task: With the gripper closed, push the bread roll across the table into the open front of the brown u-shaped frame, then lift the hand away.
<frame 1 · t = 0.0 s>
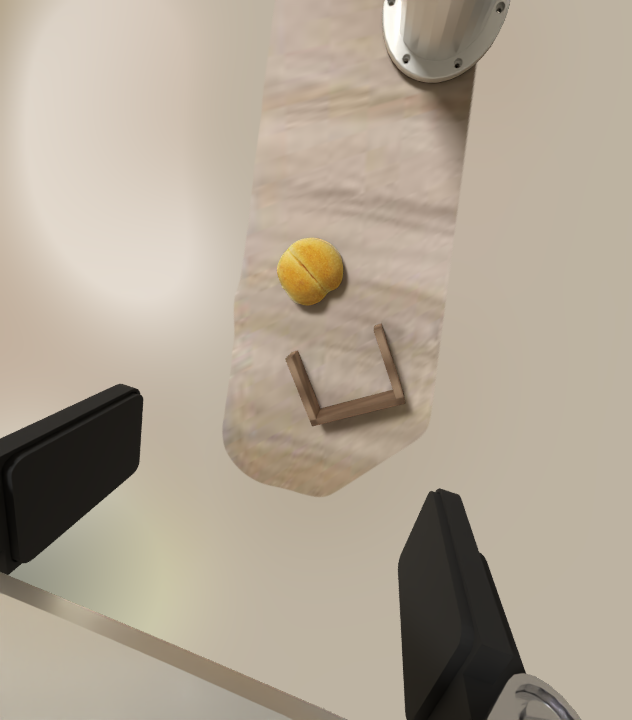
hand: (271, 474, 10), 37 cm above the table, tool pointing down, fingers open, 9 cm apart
brown u-shaped frame: (346, 372, 48), on the table
bread roll: (311, 272, 45), on the table
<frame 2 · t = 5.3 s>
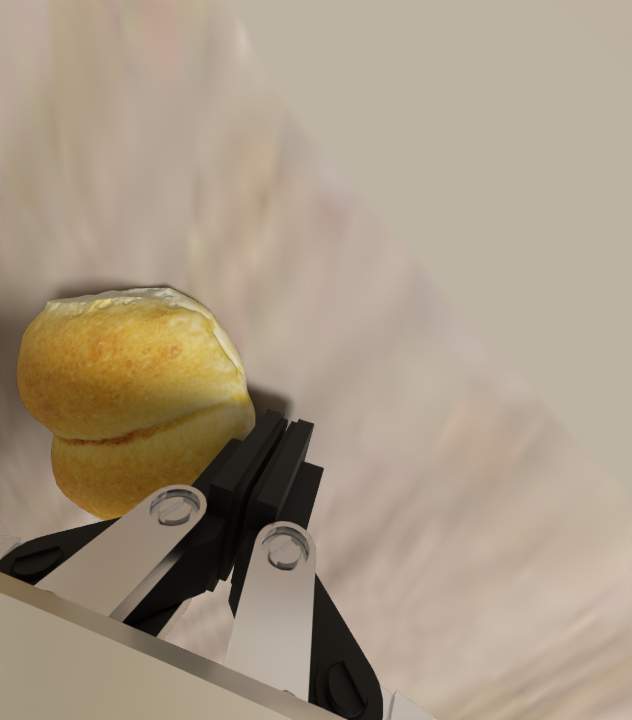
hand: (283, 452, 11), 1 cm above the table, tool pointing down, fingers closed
bread roll: (166, 391, 13), on the table, touching gripper
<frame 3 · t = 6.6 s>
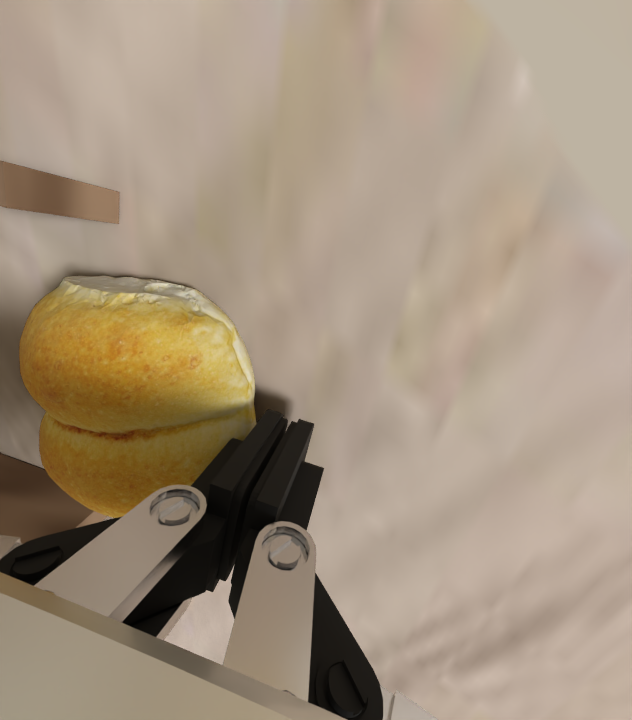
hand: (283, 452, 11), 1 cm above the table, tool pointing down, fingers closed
brown u-shaped frame: (1, 343, 14), on the table
bread roll: (167, 383, 13), on the table, touching gripper
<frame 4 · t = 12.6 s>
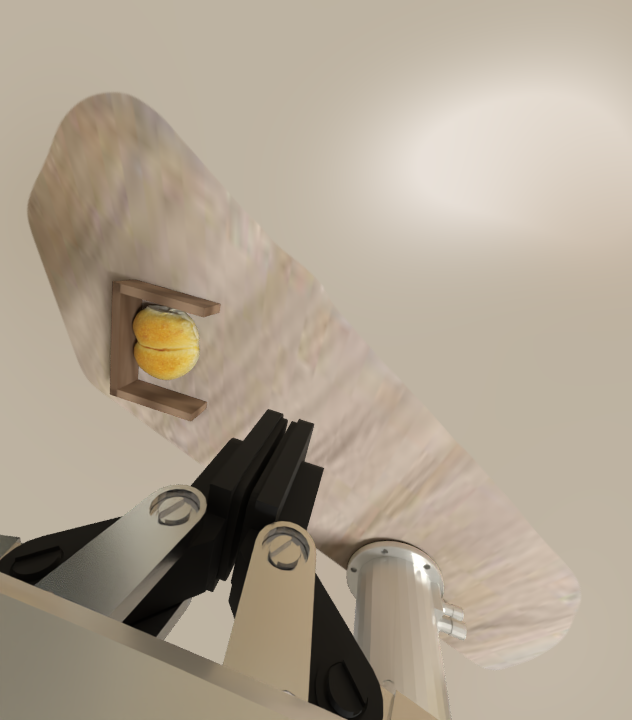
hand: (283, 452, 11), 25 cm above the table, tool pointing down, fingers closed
brown u-shaped frame: (172, 347, 40), on the table
bread roll: (172, 339, 40), on the table
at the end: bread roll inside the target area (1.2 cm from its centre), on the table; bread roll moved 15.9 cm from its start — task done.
